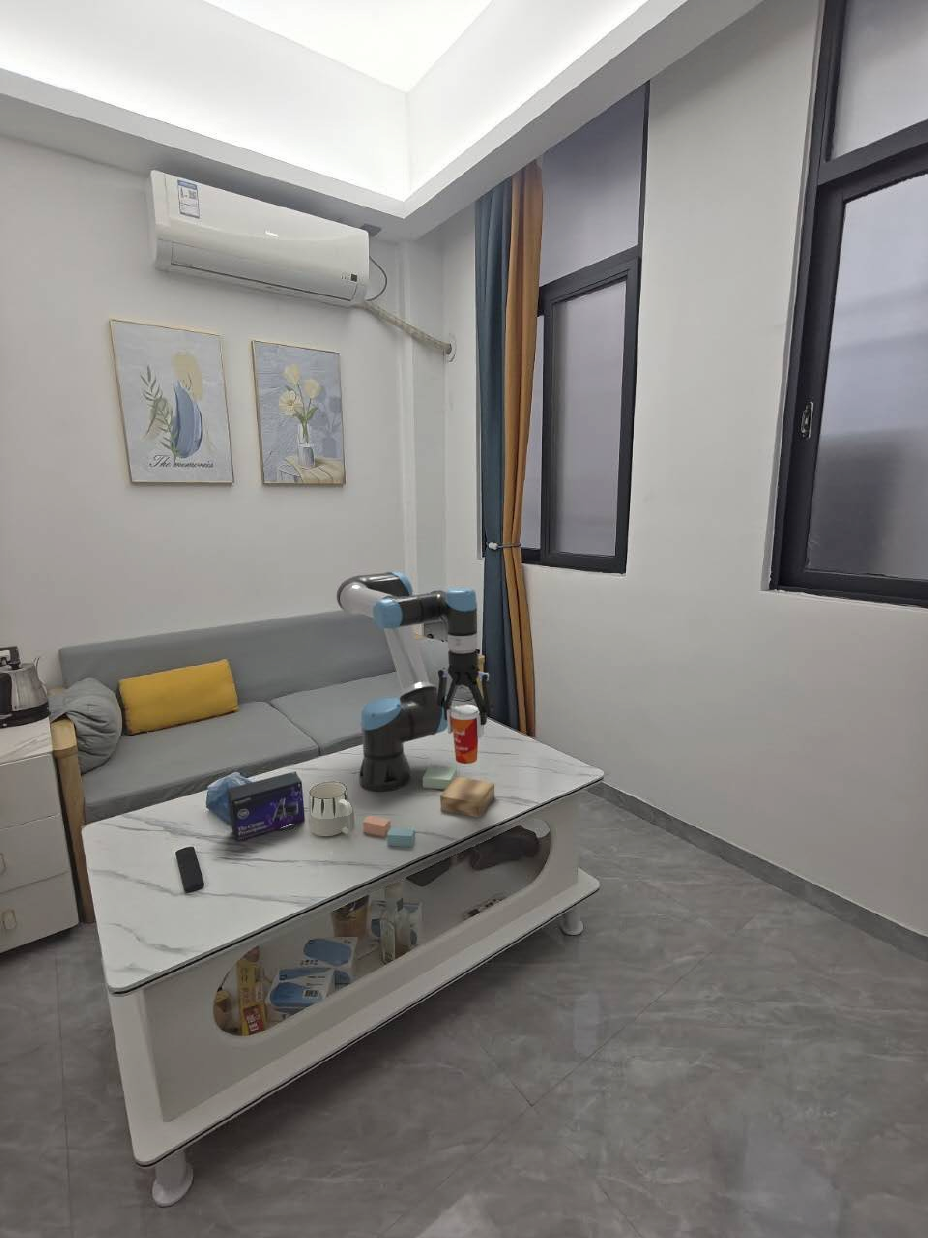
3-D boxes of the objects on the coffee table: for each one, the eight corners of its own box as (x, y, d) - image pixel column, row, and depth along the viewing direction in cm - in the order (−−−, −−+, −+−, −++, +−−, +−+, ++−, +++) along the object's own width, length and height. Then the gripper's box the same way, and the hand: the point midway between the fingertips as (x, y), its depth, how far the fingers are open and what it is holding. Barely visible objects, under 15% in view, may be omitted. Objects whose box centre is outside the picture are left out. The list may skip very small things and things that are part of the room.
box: (236, 844, 140) (230, 799, 137) (231, 831, 145) (226, 787, 143) (306, 822, 148) (301, 780, 145) (299, 811, 154) (295, 769, 151)
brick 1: (363, 832, 143) (362, 821, 142) (370, 826, 146) (369, 815, 145) (384, 837, 141) (384, 826, 140) (390, 830, 143) (390, 820, 143)
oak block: (440, 809, 152) (440, 795, 151) (457, 789, 162) (457, 776, 161) (479, 817, 148) (478, 803, 147) (494, 796, 157) (494, 783, 157)
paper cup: (448, 756, 154) (446, 706, 151) (474, 751, 157) (473, 702, 154) (458, 768, 147) (456, 716, 144) (485, 763, 149) (484, 712, 147)
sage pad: (423, 787, 164) (422, 777, 163) (431, 774, 171) (430, 764, 171) (450, 790, 162) (450, 780, 161) (457, 776, 169) (457, 767, 169)
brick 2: (387, 846, 137) (386, 834, 136) (390, 838, 140) (390, 827, 139) (412, 847, 136) (411, 836, 136) (415, 840, 139) (414, 828, 138)
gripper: (419, 650, 146) (424, 734, 151) (496, 656, 138) (497, 745, 143) (433, 642, 153) (436, 723, 158) (506, 648, 145) (507, 733, 150)
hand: (465, 733), depth 150 cm, fingers closed on paper cup, 8 cm apart
